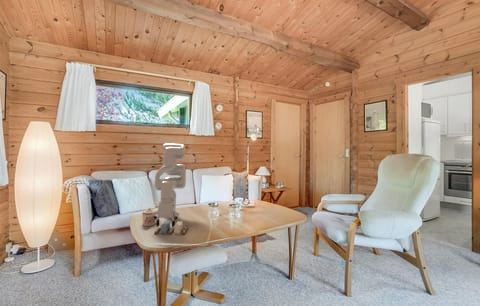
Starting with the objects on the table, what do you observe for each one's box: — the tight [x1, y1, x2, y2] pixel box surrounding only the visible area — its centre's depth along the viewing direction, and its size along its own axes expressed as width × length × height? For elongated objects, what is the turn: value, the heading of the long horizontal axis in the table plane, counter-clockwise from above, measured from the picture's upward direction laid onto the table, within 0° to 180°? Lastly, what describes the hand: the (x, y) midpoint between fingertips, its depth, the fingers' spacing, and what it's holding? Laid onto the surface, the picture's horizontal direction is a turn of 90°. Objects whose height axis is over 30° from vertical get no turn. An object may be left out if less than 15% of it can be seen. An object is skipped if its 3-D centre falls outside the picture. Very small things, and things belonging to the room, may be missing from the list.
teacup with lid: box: [142, 207, 158, 227], centre depth 171 cm, size 12×9×12 cm
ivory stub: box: [174, 220, 184, 234], centre depth 155 cm, size 9×4×5 cm, turn 2°
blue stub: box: [160, 220, 171, 233], centre depth 154 cm, size 9×4×5 cm, turn 2°
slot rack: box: [153, 224, 189, 236], centre depth 155 cm, size 14×19×2 cm
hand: (165, 226), depth 155 cm, fingers open, 9 cm apart
